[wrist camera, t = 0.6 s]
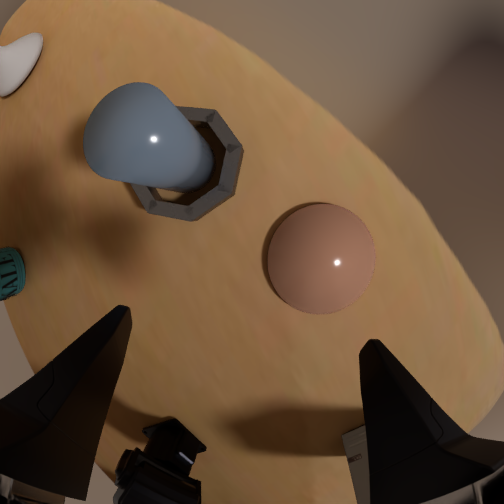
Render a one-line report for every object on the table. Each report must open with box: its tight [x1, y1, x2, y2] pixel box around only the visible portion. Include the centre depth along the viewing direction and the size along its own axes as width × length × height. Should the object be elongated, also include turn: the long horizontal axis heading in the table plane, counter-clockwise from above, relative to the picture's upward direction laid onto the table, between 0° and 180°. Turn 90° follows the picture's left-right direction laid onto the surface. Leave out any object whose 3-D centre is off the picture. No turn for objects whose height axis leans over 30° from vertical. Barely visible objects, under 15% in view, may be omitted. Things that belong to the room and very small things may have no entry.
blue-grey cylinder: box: [83, 82, 216, 193], centre depth 18 cm, size 5×5×12 cm
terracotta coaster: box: [268, 204, 376, 314], centre depth 24 cm, size 10×10×1 cm
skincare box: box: [341, 425, 370, 504], centre depth 19 cm, size 8×7×16 cm
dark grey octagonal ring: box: [130, 106, 244, 221], centre depth 23 cm, size 10×10×2 cm
